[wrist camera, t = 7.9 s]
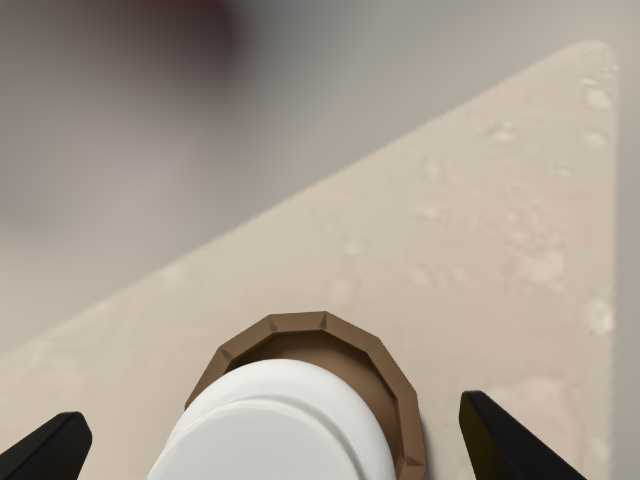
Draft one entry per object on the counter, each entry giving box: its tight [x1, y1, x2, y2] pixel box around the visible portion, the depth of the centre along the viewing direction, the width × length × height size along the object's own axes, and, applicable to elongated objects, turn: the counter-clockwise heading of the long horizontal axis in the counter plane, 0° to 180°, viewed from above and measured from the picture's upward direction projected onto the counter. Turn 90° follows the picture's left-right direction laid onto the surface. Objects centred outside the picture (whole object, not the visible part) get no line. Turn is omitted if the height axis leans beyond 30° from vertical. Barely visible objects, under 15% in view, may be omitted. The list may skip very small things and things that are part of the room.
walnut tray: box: [184, 311, 427, 480], centre depth 14 cm, size 10×10×2 cm
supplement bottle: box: [146, 359, 397, 480], centre depth 10 cm, size 6×6×10 cm
